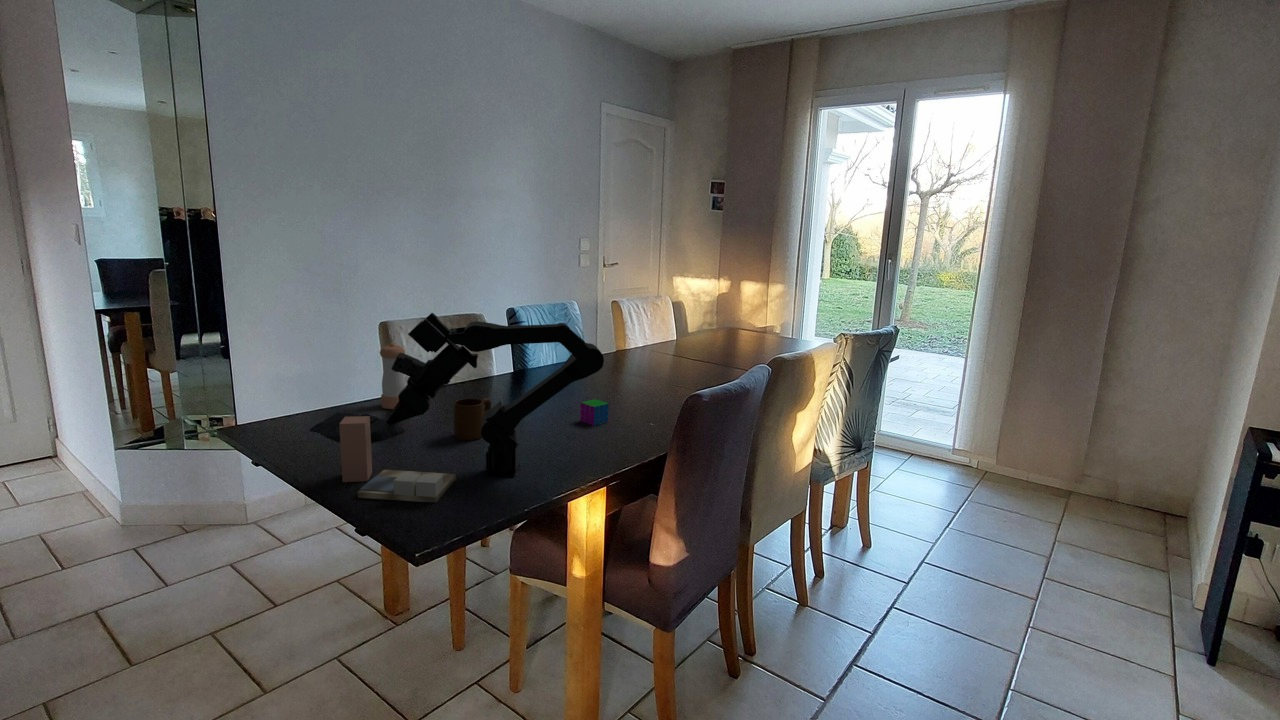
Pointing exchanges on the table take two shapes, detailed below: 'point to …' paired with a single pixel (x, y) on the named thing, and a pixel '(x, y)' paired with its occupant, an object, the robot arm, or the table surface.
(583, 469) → the table surface
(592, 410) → the puzzle toy
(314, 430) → the dark slate chunk
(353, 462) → the tower block
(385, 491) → the board
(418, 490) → the built blocks
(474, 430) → the mug
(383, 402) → the salt shaker
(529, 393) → the robot arm
